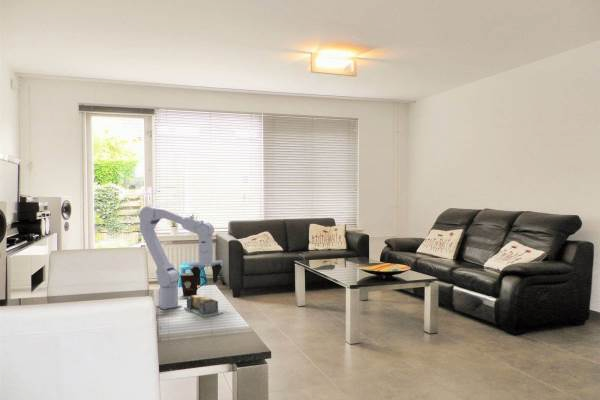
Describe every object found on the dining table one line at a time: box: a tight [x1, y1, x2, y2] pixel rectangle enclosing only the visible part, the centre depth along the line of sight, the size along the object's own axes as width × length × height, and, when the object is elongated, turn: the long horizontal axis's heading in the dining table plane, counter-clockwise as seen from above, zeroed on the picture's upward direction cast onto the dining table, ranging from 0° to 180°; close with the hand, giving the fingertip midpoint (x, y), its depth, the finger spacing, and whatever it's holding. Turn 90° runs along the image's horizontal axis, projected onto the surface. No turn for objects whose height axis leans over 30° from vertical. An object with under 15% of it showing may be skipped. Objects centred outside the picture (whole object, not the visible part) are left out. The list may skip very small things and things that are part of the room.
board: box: [183, 306, 224, 318], centre depth 189 cm, size 19×8×1 cm, turn 36°
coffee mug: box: [179, 272, 207, 297], centre depth 225 cm, size 12×9×10 cm
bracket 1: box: [186, 296, 197, 309], centre depth 194 cm, size 4×6×4 cm, turn 126°
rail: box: [190, 294, 215, 308], centre depth 189 cm, size 14×4×4 cm, turn 36°
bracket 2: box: [199, 299, 219, 315], centre depth 184 cm, size 4×6×4 cm, turn 126°
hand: (206, 283), depth 197 cm, fingers open, 7 cm apart
